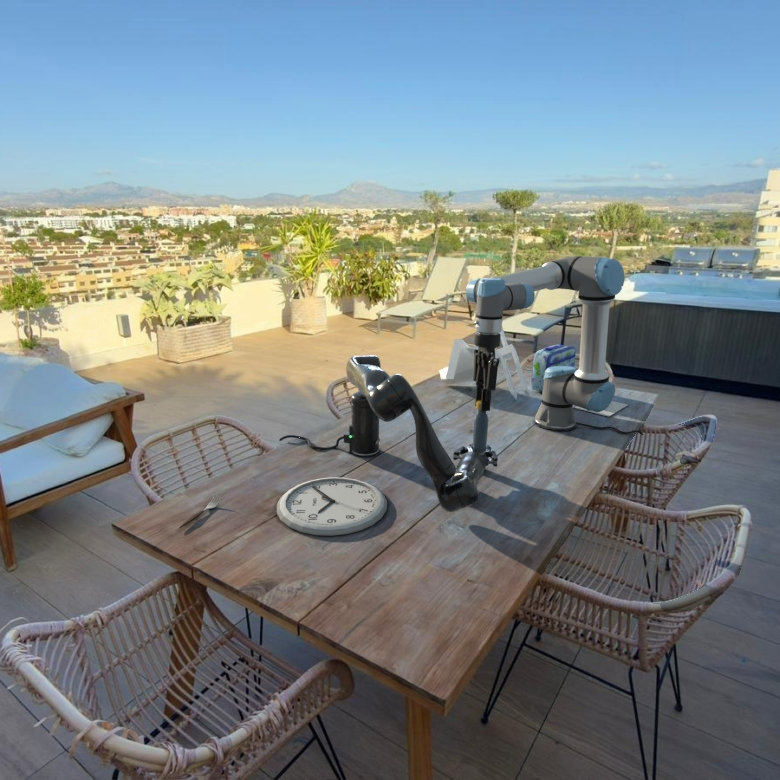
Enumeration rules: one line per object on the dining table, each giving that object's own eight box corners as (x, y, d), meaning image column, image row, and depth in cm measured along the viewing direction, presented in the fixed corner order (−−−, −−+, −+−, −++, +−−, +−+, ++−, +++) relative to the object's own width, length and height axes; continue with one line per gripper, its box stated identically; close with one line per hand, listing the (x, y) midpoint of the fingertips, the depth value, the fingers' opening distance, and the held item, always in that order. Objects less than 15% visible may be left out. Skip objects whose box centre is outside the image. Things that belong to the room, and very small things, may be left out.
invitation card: (608, 416, 214) (573, 407, 224) (608, 416, 214) (573, 408, 224) (628, 404, 229) (594, 396, 238) (628, 405, 229) (594, 397, 238)
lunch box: (547, 397, 237) (552, 352, 231) (526, 391, 245) (531, 348, 238) (574, 386, 255) (580, 344, 249) (554, 381, 262) (559, 340, 256)
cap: (487, 406, 161) (488, 400, 160) (489, 410, 157) (489, 404, 157) (475, 405, 161) (476, 399, 161) (476, 409, 158) (477, 403, 157)
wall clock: (392, 527, 129) (268, 531, 127) (391, 533, 130) (269, 537, 127) (383, 473, 158) (282, 475, 155) (383, 478, 158) (282, 480, 156)
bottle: (468, 468, 166) (473, 402, 160) (479, 465, 168) (484, 401, 162) (475, 473, 163) (480, 406, 156) (487, 471, 164) (492, 405, 158)
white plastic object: (461, 429, 252) (437, 405, 227) (444, 352, 274) (420, 323, 250) (535, 404, 240) (518, 377, 215) (510, 326, 262) (492, 293, 237)
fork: (174, 529, 130) (174, 521, 130) (216, 499, 144) (215, 492, 144) (183, 531, 129) (182, 524, 129) (223, 501, 144) (223, 494, 143)
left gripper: (496, 461, 147) (504, 439, 163) (446, 453, 152) (459, 432, 167) (494, 485, 149) (502, 461, 165) (445, 476, 154) (457, 454, 169)
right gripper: (465, 327, 159) (460, 400, 166) (487, 338, 144) (481, 418, 151) (488, 326, 161) (482, 399, 168) (512, 337, 145) (505, 416, 152)
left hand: (480, 446), depth 166 cm, fingers closed on bottle, 4 cm apart
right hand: (482, 408), depth 159 cm, fingers closed on cap, 4 cm apart
